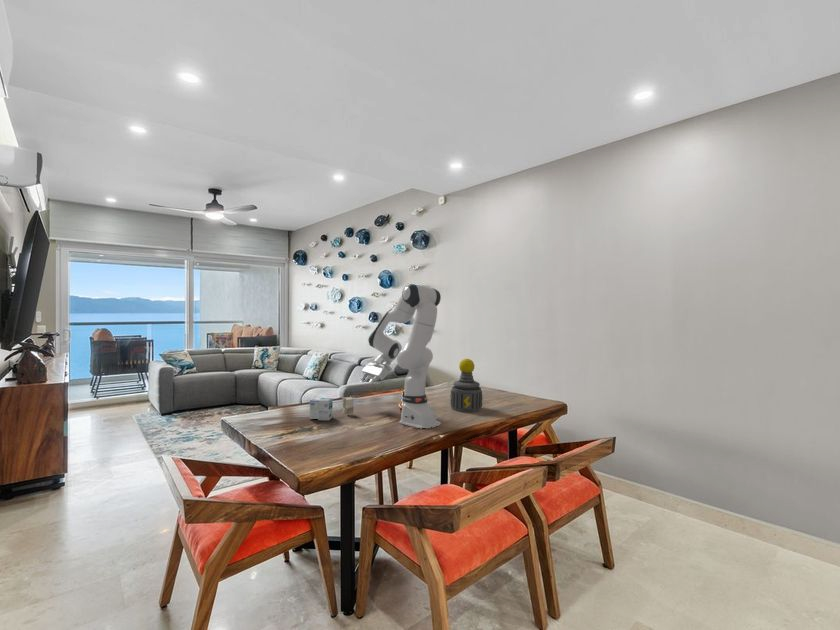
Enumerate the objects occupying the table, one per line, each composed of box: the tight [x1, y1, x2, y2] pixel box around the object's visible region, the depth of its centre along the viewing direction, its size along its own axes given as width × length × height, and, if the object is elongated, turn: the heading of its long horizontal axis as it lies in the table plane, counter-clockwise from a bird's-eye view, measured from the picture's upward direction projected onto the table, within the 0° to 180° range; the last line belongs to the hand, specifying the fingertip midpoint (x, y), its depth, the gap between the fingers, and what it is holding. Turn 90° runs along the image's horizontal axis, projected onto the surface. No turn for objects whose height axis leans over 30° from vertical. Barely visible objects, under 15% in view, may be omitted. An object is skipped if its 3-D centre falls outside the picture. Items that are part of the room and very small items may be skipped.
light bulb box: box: [309, 397, 334, 421], centre depth 224 cm, size 11×7×11 cm, turn 84°
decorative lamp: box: [449, 358, 484, 413], centre depth 251 cm, size 19×19×30 cm
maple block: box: [342, 396, 355, 416], centre depth 234 cm, size 5×4×9 cm
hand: (366, 381), depth 241 cm, fingers open, 8 cm apart
